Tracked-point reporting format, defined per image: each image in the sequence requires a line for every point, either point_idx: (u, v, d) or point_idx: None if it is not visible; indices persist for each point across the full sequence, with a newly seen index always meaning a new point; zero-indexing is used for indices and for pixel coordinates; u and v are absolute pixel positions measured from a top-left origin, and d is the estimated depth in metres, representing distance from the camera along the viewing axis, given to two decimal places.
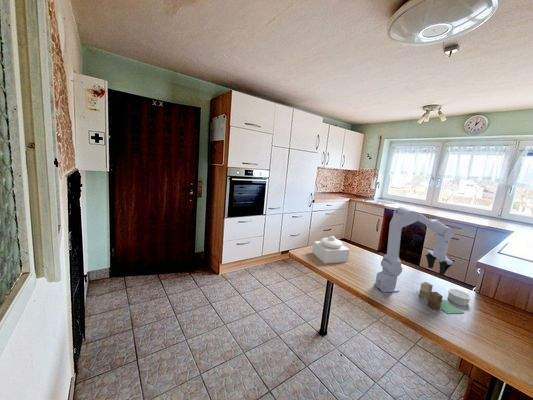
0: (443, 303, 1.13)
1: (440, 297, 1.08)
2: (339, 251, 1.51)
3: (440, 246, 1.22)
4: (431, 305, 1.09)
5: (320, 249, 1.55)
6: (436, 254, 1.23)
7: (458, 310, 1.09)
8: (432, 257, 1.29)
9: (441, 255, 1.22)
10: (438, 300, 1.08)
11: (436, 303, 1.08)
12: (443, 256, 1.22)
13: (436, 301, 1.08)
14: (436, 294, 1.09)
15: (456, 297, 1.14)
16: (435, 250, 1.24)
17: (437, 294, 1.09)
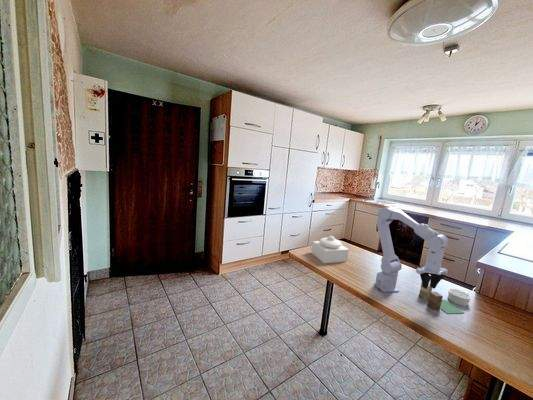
0: (443, 303, 1.13)
1: (440, 297, 1.08)
2: (338, 251, 1.51)
3: (427, 256, 1.06)
4: (431, 305, 1.09)
5: (319, 249, 1.55)
6: None
7: (458, 310, 1.09)
8: (434, 275, 1.07)
9: (425, 266, 1.07)
10: (438, 300, 1.08)
11: (436, 303, 1.08)
12: (426, 267, 1.06)
13: (436, 301, 1.08)
14: (436, 294, 1.09)
15: (456, 297, 1.14)
16: None
17: (437, 294, 1.09)
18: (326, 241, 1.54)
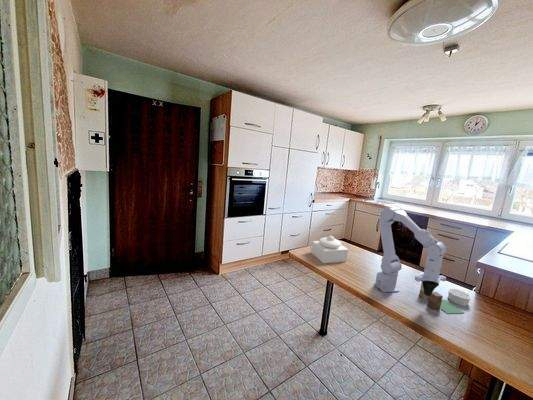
0: (443, 303, 1.13)
1: (440, 297, 1.08)
2: (338, 251, 1.51)
3: None
4: (431, 305, 1.09)
5: (319, 249, 1.55)
6: None
7: (458, 310, 1.09)
8: None
9: (424, 273, 1.07)
10: (438, 300, 1.08)
11: (436, 303, 1.08)
12: (425, 275, 1.06)
13: (436, 301, 1.08)
14: (436, 294, 1.09)
15: (456, 297, 1.14)
16: None
17: (437, 294, 1.09)
18: (326, 241, 1.54)
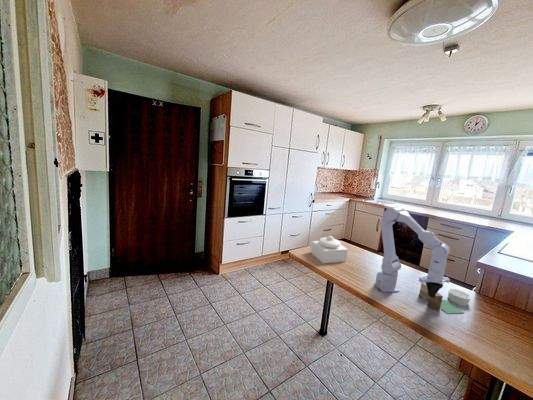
0: (443, 303, 1.13)
1: (440, 297, 1.08)
2: (337, 251, 1.51)
3: (430, 265, 1.07)
4: (431, 305, 1.09)
5: (318, 249, 1.55)
6: None
7: (458, 310, 1.09)
8: None
9: (428, 274, 1.08)
10: (438, 300, 1.08)
11: (436, 303, 1.08)
12: (429, 276, 1.07)
13: (436, 301, 1.08)
14: (436, 294, 1.09)
15: (456, 297, 1.14)
16: None
17: (437, 294, 1.09)
18: (325, 241, 1.54)
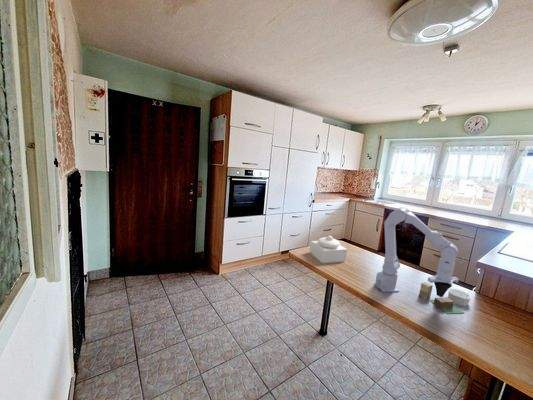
0: None
1: (451, 306, 1.10)
2: (336, 251, 1.51)
3: (439, 266, 1.07)
4: (441, 300, 1.10)
5: (317, 249, 1.55)
6: None
7: (458, 310, 1.09)
8: None
9: (437, 274, 1.08)
10: (449, 305, 1.09)
11: (446, 304, 1.09)
12: (438, 276, 1.08)
13: (448, 303, 1.09)
14: None
15: (456, 297, 1.14)
16: None
17: None
18: (324, 241, 1.54)
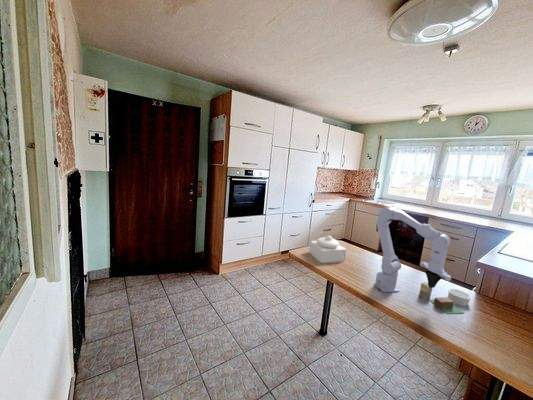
0: None
1: (451, 306, 1.10)
2: (335, 251, 1.51)
3: (430, 256, 1.06)
4: (441, 300, 1.10)
5: (316, 249, 1.55)
6: (432, 268, 1.05)
7: (458, 310, 1.09)
8: None
9: (438, 269, 1.04)
10: (449, 305, 1.09)
11: (446, 304, 1.09)
12: (440, 270, 1.04)
13: (448, 303, 1.09)
14: None
15: (456, 297, 1.14)
16: (431, 263, 1.06)
17: None
18: (323, 241, 1.54)
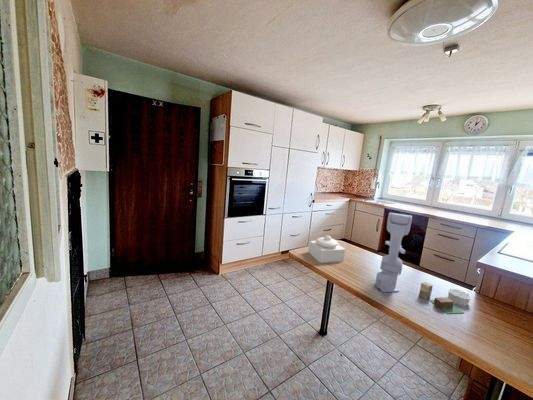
0: None
1: (451, 306, 1.10)
2: (334, 251, 1.51)
3: None
4: (441, 300, 1.10)
5: (316, 249, 1.55)
6: None
7: (458, 310, 1.09)
8: None
9: None
10: (449, 305, 1.09)
11: (446, 304, 1.09)
12: None
13: (448, 303, 1.09)
14: None
15: (456, 297, 1.14)
16: (391, 241, 1.34)
17: None
18: (322, 241, 1.54)
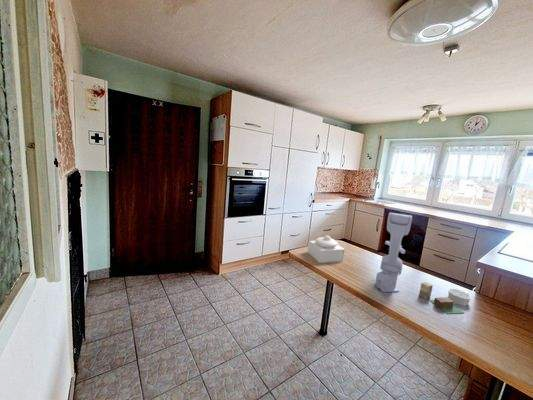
0: None
1: (451, 306, 1.10)
2: (334, 251, 1.51)
3: None
4: (441, 300, 1.10)
5: (315, 249, 1.55)
6: None
7: (458, 310, 1.09)
8: None
9: None
10: (449, 305, 1.09)
11: (446, 304, 1.09)
12: None
13: (448, 303, 1.09)
14: None
15: (456, 297, 1.14)
16: (391, 241, 1.34)
17: None
18: (322, 241, 1.54)
